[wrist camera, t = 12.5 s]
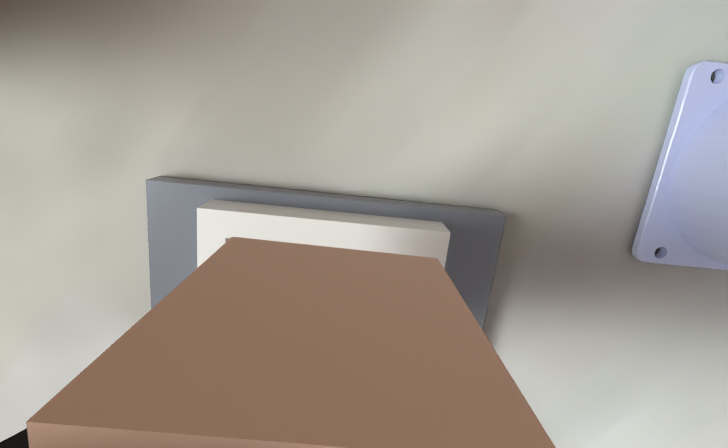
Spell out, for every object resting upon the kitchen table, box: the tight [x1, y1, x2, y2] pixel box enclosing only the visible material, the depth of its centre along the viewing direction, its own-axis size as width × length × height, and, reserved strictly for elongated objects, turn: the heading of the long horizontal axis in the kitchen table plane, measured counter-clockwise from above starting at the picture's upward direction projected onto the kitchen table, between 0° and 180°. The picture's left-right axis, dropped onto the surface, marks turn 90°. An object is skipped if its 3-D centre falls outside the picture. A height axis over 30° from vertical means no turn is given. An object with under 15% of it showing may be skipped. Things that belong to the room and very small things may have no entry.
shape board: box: [146, 176, 506, 330], centre depth 18 cm, size 14×21×2 cm, turn 174°
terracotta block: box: [26, 237, 555, 448], centre depth 7 cm, size 5×5×6 cm
